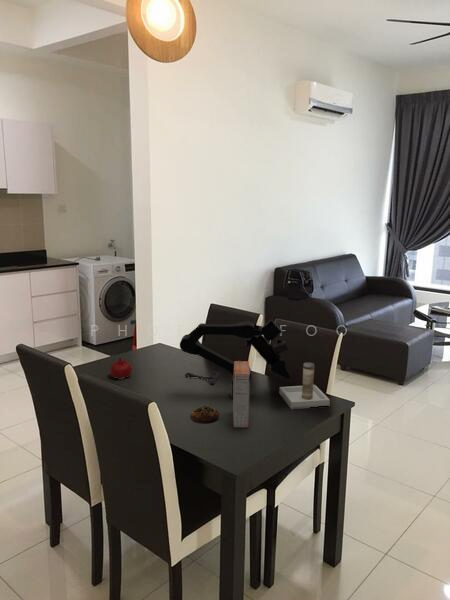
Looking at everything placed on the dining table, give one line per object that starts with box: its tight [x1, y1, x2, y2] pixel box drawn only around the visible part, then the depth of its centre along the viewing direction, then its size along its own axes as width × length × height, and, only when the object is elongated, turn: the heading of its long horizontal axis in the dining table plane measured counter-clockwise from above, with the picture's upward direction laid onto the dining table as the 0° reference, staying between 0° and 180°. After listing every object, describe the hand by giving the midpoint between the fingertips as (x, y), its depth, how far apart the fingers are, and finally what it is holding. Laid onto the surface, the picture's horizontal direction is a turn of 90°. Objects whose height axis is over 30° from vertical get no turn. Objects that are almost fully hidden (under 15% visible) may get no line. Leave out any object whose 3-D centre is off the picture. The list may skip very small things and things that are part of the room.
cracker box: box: [232, 360, 251, 429], centre depth 187 cm, size 14×6×21 cm, turn 178°
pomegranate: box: [109, 357, 133, 378], centre depth 230 cm, size 10×10×9 cm
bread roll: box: [190, 405, 220, 424], centre depth 191 cm, size 11×11×5 cm
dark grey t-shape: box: [184, 371, 221, 386], centre depth 231 cm, size 14×15×3 cm
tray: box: [278, 384, 331, 410], centre depth 209 cm, size 16×16×3 cm
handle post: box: [301, 362, 315, 400], centre depth 207 cm, size 4×4×14 cm
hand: (287, 375), depth 208 cm, fingers open, 9 cm apart
